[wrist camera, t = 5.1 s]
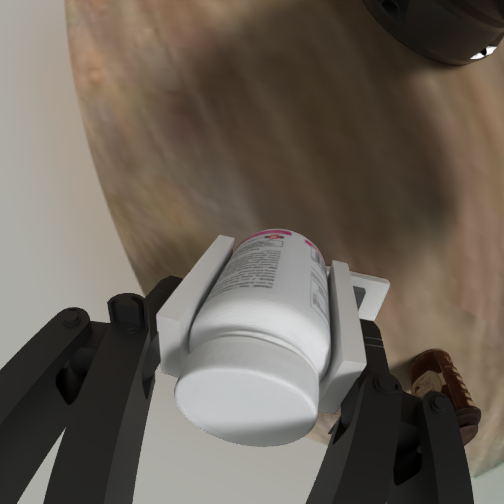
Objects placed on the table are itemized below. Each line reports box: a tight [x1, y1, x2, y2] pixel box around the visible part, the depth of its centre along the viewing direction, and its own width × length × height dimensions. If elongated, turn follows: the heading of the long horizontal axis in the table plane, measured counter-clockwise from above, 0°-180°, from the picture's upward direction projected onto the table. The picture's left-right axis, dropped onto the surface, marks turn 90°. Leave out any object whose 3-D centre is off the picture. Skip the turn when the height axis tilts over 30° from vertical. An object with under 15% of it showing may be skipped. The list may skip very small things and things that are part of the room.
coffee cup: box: [409, 349, 481, 446], centre depth 25 cm, size 9×8×13 cm
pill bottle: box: [174, 229, 331, 447], centre depth 11 cm, size 5×5×8 cm
